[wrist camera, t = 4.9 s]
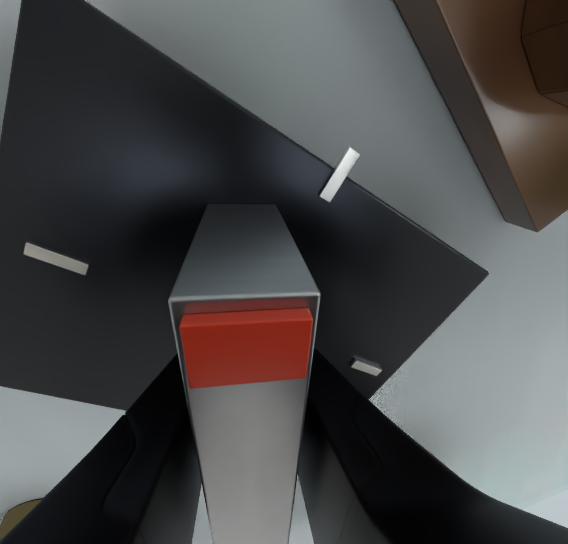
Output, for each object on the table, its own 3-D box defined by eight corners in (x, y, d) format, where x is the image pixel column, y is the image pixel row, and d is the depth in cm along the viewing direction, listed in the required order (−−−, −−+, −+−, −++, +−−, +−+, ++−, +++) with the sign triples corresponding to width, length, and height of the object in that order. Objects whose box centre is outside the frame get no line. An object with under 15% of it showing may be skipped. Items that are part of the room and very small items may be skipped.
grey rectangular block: (269, 400, 11) (289, 566, 7) (224, 405, 11) (216, 582, 6) (276, 203, 7) (328, 304, 3) (207, 203, 7) (160, 312, 3)
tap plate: (445, 231, 12) (508, 262, 9) (302, 402, 16) (316, 459, 13) (108, -4, 7) (24, -91, 4) (25, 330, 11) (-45, 397, 8)
